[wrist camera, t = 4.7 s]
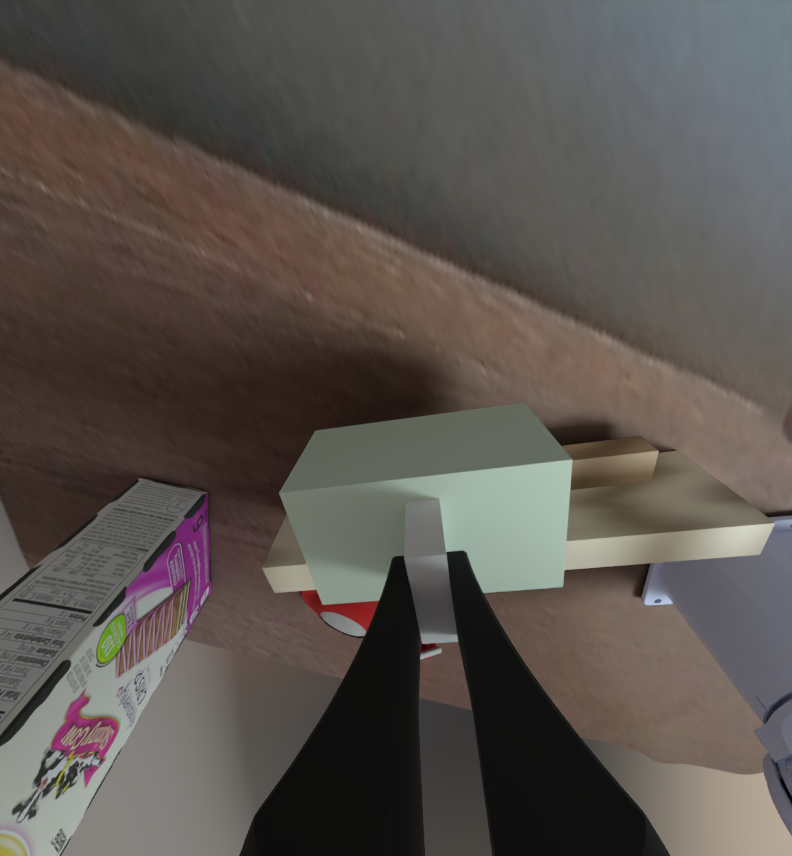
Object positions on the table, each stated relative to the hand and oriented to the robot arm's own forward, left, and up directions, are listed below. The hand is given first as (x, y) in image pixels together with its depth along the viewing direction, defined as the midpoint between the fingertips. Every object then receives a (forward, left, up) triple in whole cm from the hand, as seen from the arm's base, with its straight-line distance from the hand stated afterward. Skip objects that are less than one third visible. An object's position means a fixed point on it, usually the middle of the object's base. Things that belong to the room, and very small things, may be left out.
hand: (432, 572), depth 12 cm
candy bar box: (+19, +6, -10) cm, 22 cm away
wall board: (-3, +4, -10) cm, 11 cm away
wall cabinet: (0, 0, -6) cm, 6 cm away
